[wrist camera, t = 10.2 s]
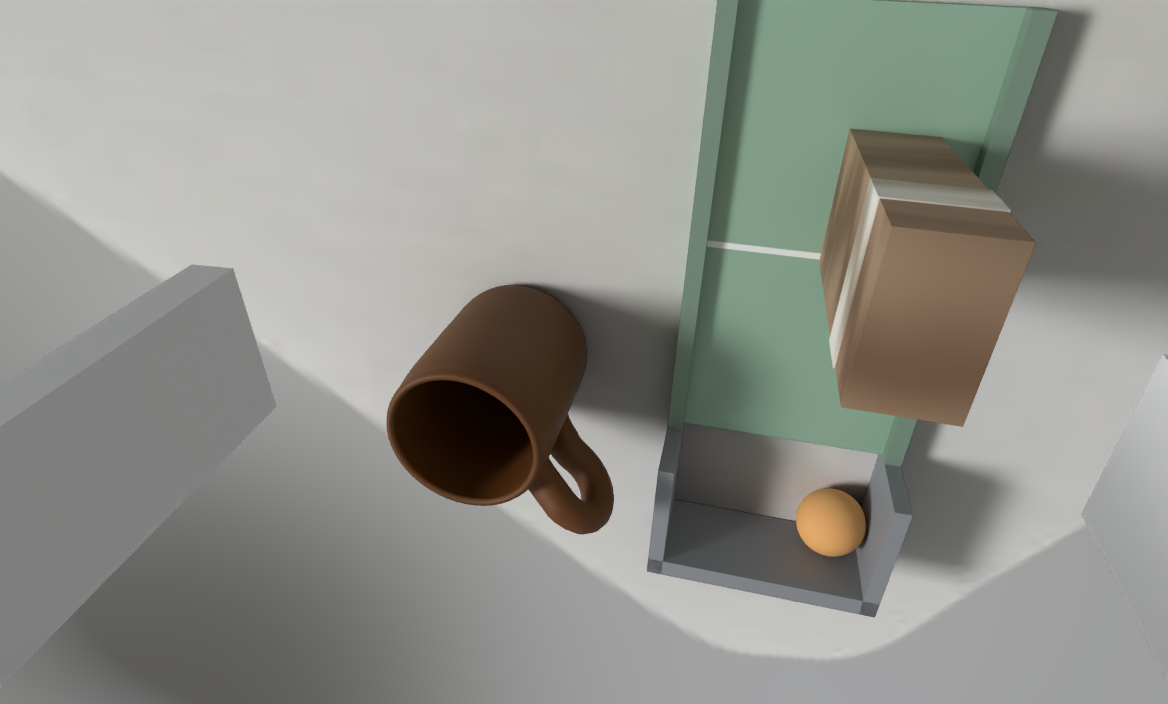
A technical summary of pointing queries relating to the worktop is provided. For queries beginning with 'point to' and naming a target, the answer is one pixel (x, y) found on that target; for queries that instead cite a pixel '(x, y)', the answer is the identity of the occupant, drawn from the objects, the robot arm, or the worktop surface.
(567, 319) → the mug
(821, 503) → the ball
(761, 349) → the pitch
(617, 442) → the worktop surface
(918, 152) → the block
